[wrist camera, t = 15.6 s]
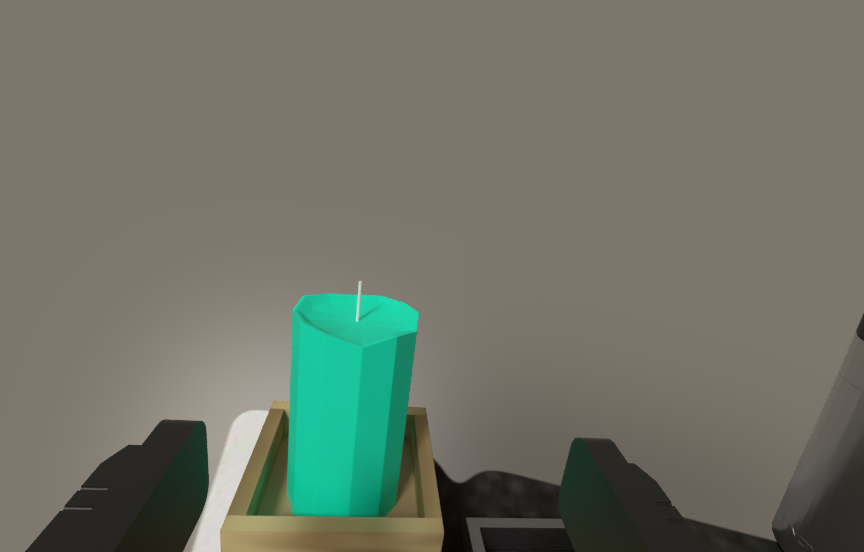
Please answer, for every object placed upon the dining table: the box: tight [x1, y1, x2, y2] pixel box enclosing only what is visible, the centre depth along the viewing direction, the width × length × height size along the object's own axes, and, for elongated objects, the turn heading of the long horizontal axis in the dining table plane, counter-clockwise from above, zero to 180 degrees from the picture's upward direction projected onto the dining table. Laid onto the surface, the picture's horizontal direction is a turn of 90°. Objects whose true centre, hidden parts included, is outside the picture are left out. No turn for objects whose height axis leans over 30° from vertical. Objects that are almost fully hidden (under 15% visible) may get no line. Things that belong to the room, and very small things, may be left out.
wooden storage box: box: [220, 401, 444, 552], centre depth 26 cm, size 10×10×10 cm
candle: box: [287, 281, 419, 517], centre depth 23 cm, size 6×6×12 cm
